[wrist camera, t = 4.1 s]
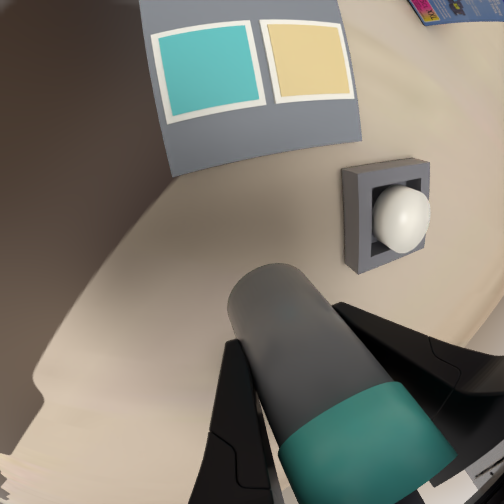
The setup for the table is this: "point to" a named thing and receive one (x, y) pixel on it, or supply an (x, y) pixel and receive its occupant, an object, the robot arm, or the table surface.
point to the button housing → (362, 202)
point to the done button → (400, 218)
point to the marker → (330, 397)
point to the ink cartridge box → (458, 11)
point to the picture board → (248, 78)
